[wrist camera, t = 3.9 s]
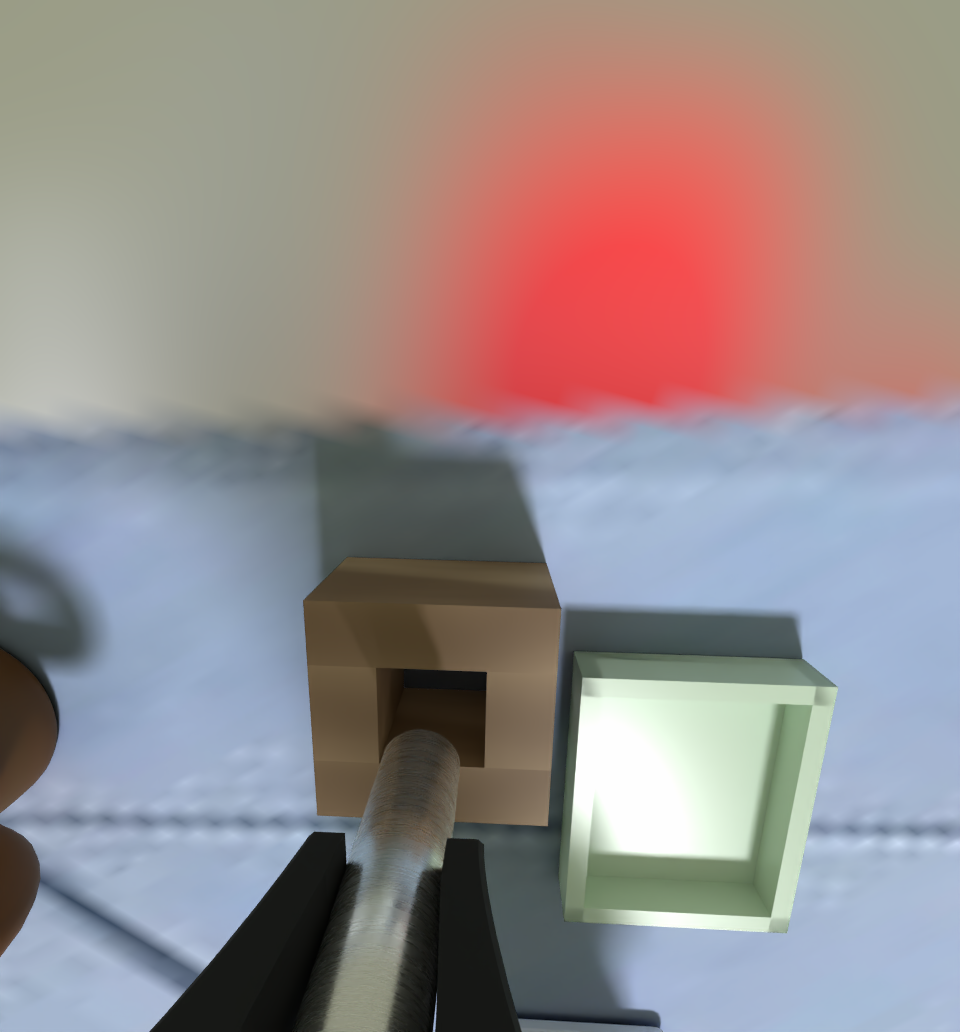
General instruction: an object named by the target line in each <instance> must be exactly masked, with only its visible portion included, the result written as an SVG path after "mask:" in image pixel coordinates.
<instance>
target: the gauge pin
mask: <svg viewBox="0 0 960 1032" xmlns="http://www.w3.org/2000/svg"><path fill="white" fill-rule="evenodd" d="M459 772H460V759H459V755H458V753H457V751H456V749H455V747H454V746H453V745H452V743H451V742H450V741H449V740H448V739H446V738H445V737H443V736H442V735H440V734H438V733H436V732H433V731H429V730H423V729H416V730H409V731H406V732H403V733H401V734H399V735H397V736H396V737H394V738H393V739H392V740H391V741H390V742H389V744H388V745H387V747H386V749H385V751H384V754H383V757H382V760H381V763H380V766H379V769H378V772H377V775H376V778H375V781H374V784H373V787H372V790H371V793H370V796H369V799H368V802H367V805H366V808H365V811H364V814H363V817H362V820H361V823H360V826H359V830H358V833H357V836H356V839H355V842H354V845H353V848H352V851H351V854H350V857H349V860H348V863H347V866H346V869H345V872H344V875H343V878H342V881H341V884H340V887H339V890H338V893H337V896H336V899H335V902H334V905H333V908H332V911H331V915H330V918H329V921H328V924H327V927H326V930H325V933H324V936H323V939H322V942H321V945H320V948H319V951H318V954H317V957H316V960H315V963H314V966H313V969H312V972H311V975H310V978H309V981H308V984H307V987H306V990H305V993H304V996H303V999H302V1003H301V1006H300V1009H299V1012H298V1015H297V1018H296V1021H295V1024H294V1027H293V1030H292V1032H433V1024H434V1014H435V1004H436V995H437V980H438V949H439V917H440V887H441V873H442V866H443V859H444V853H445V847H446V841H447V838H453V830H454V821H455V811H456V801H457V792H458V782H459Z"/></svg>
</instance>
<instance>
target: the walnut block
mask: <svg viewBox="0 0 960 1032" xmlns="http://www.w3.org/2000/svg"><path fill="white" fill-rule="evenodd" d="M303 606H304V621H305V636H306V651H307V666H308V681H309V696H310V711H311V726H312V742H313V757H314V772H315V787H316V802H317V815H320V816H341V817H363V814H364V811H365V808H366V805H367V802H368V799H369V796H370V793H371V790H372V787H373V784H374V781H375V778H376V775H377V772H378V769H379V766H380V763H381V760H382V757H383V754H384V751H385V749H386V747H387V745H388V744H389V742H390V741H391V740H392V739H393V738H394V737H396V736H397V735H399V734H401V733H403V732H406V731H409V730H416V729H423V730H429V731H433V732H436V733H438V734H440V735H442V736H443V737H445V738H446V739H448V740H449V741H450V742H451V743H452V745H453V746H454V747H455V749H456V751H457V753H458V755H459V759H460V772H459V782H458V792H457V801H456V811H455V821H454V822H470V823H491V824H512V825H534V826H548V813H549V797H550V781H551V765H552V749H553V733H554V716H555V700H556V684H557V668H558V652H559V635H560V619H561V607H560V604H559V601H558V598H557V595H556V592H555V588H554V585H553V582H552V579H551V576H550V573H549V570H548V567H547V564H546V563H524V562H491V561H458V560H424V559H391V558H358V557H347V558H346V559H345V560H344V561H343V562H342V563H341V564H340V565H339V566H338V567H337V568H336V569H335V570H334V571H333V572H332V573H331V574H330V575H329V576H328V577H327V578H326V579H325V580H324V581H322V582H321V583H320V584H319V585H318V586H317V587H316V588H315V589H314V590H313V591H312V592H311V593H310V594H309V595H308V596H307V597H306V598H305V599H304V600H303ZM404 669H425V670H452V671H479V672H487V689H486V691H479V690H453V689H427V688H404Z"/></svg>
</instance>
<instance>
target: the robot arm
mask: <svg viewBox="0 0 960 1032" xmlns="http://www.w3.org/2000/svg"><path fill="white" fill-rule="evenodd" d="M346 866H347V864H346V845H345V833H331V832H313V833H312V834H311V835H310V836H309V837H308V838H307V840H306V841H305V842H304V844H303V845H302V846H301V848H300V849H299V850H298V852H297V853H296V855H295V856H294V857H293V859H292V860H291V861H290V863H289V864H288V865H287V867H286V868H285V869H284V871H283V872H282V873H281V875H280V876H279V877H278V879H277V880H276V881H275V883H274V884H273V885H272V886H271V888H270V889H269V890H268V892H267V893H266V894H265V895H264V897H263V898H262V899H261V901H260V902H259V903H258V904H257V906H256V907H255V908H254V910H253V911H252V912H251V913H250V914H249V916H248V917H247V918H246V919H245V921H244V922H243V923H242V924H241V926H240V927H239V928H238V929H237V931H236V932H235V933H234V934H233V935H232V937H231V938H230V939H229V940H228V942H227V943H226V944H225V945H224V947H223V948H222V949H221V950H220V951H219V953H218V954H217V955H216V956H215V957H214V959H213V960H212V961H211V962H210V963H209V965H208V966H207V967H206V968H205V969H204V970H203V971H202V973H201V974H200V975H199V976H198V977H197V978H196V979H195V981H194V982H193V983H192V984H191V985H190V986H189V988H188V989H187V990H186V991H185V992H184V993H183V994H182V996H181V997H180V998H179V999H178V1000H177V1001H176V1002H175V1004H174V1005H173V1006H172V1007H171V1008H170V1009H169V1010H168V1012H167V1013H166V1014H165V1015H164V1016H163V1017H162V1018H161V1020H160V1021H159V1022H158V1023H157V1024H156V1025H155V1026H154V1027H153V1028H152V1029H151V1031H150V1032H292V1030H293V1027H294V1024H295V1021H296V1018H297V1015H298V1012H299V1009H300V1006H301V1003H302V999H303V996H304V993H305V990H306V987H307V984H308V981H309V978H310V975H311V972H312V969H313V966H314V963H315V960H316V957H317V954H318V951H319V948H320V945H321V942H322V939H323V936H324V933H325V930H326V927H327V924H328V921H329V918H330V915H331V911H332V908H333V905H334V902H335V899H336V896H337V893H338V890H339V887H340V884H341V881H342V878H343V875H344V872H345V869H346ZM435 1032H663V1031H662V1030H661V1029H659V1028H658V1027H652V1026H635V1025H618V1024H601V1023H584V1022H568V1021H551V1020H534V1019H518V1017H517V1014H516V1010H515V1007H514V1003H513V999H512V996H511V992H510V988H509V985H508V981H507V977H506V973H505V969H504V965H503V961H502V957H501V952H500V948H499V944H498V940H497V936H496V931H495V926H494V922H493V917H492V911H491V906H490V900H489V895H488V888H487V882H486V874H485V863H484V845H483V844H482V843H481V842H480V841H479V840H477V839H456V838H447V841H446V847H445V853H444V859H443V866H442V873H441V887H440V917H439V949H438V980H437V1011H436V1029H435Z"/></svg>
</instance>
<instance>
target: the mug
mask: <svg viewBox="0 0 960 1032" xmlns="http://www.w3.org/2000/svg"><path fill="white" fill-rule="evenodd" d="M56 742H57V722H56V716H55V713H54V709H53V706H52V704H51V702H50V699H49V697H48V695H47V693H46V692H45V690H44V688H43V686H42V685H41V684H40V682H39V681H38V680H37V678H36V677H35V676H34V675H33V674H32V673H31V672H30V670H29V669H28V668H27V667H25V666H24V665H23V664H22V663H21V662H20V661H18V660H17V659H16V658H14V657H13V656H11V655H10V654H9V653H7V652H5V651H4V650H2V649H0V813H1V812H2V811H3V810H5V809H6V808H7V807H8V806H10V805H11V804H12V803H13V802H14V801H15V800H17V799H18V798H19V797H20V796H21V795H22V794H23V793H24V792H26V791H27V790H28V789H29V788H30V787H31V786H32V785H33V784H34V783H35V782H36V781H37V780H38V779H39V777H40V776H41V775H42V774H43V772H44V771H45V770H46V768H47V766H48V765H49V763H50V761H51V758H52V756H53V753H54V750H55V747H56ZM39 883H40V864H39V861H38V858H37V855H36V853H35V851H34V848H33V846H32V844H31V843H30V842H29V841H28V840H27V839H26V838H25V837H24V836H22V835H21V834H19V833H17V832H16V831H14V830H12V829H10V828H7V827H5V826H3V825H1V824H0V957H1V955H2V954H3V953H4V951H5V950H6V949H7V947H8V946H9V945H10V943H11V942H12V941H13V939H14V938H15V937H16V935H17V934H18V933H19V931H20V930H21V928H22V926H23V924H24V922H25V920H26V918H27V916H28V914H29V912H30V910H31V908H32V906H33V903H34V901H35V899H36V895H37V891H38V887H39Z"/></svg>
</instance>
